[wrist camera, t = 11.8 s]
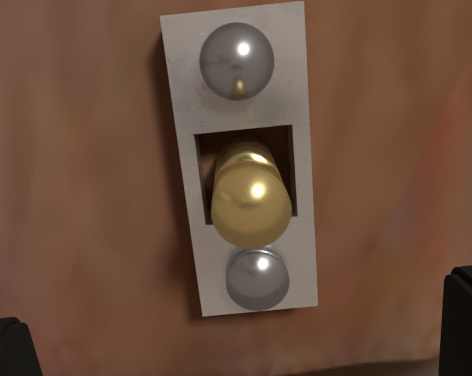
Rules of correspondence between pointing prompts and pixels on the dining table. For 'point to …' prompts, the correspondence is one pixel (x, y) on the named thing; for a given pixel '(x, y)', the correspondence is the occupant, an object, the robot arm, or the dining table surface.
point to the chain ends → (236, 118)
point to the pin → (249, 195)
